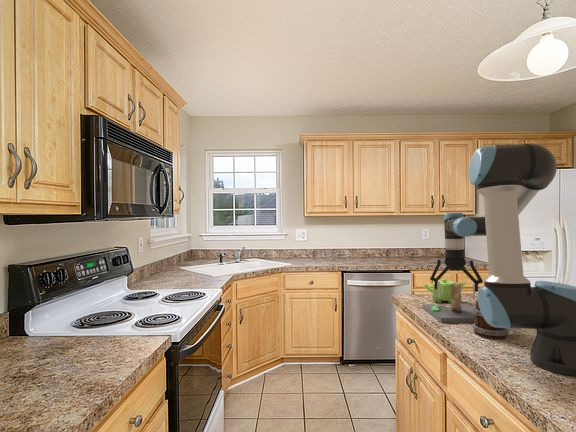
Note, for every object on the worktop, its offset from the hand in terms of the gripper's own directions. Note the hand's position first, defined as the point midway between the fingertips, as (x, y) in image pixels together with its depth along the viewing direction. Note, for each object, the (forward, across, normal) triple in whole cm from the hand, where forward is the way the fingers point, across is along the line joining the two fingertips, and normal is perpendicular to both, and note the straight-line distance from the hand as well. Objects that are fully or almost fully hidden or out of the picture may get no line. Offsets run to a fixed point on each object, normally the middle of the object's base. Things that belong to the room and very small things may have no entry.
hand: (456, 298), depth 149 cm
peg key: (+6, +3, -1) cm, 7 cm away
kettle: (+8, +6, -25) cm, 27 cm away
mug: (+8, -13, +18) cm, 24 cm away
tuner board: (+8, +1, -2) cm, 8 cm away
